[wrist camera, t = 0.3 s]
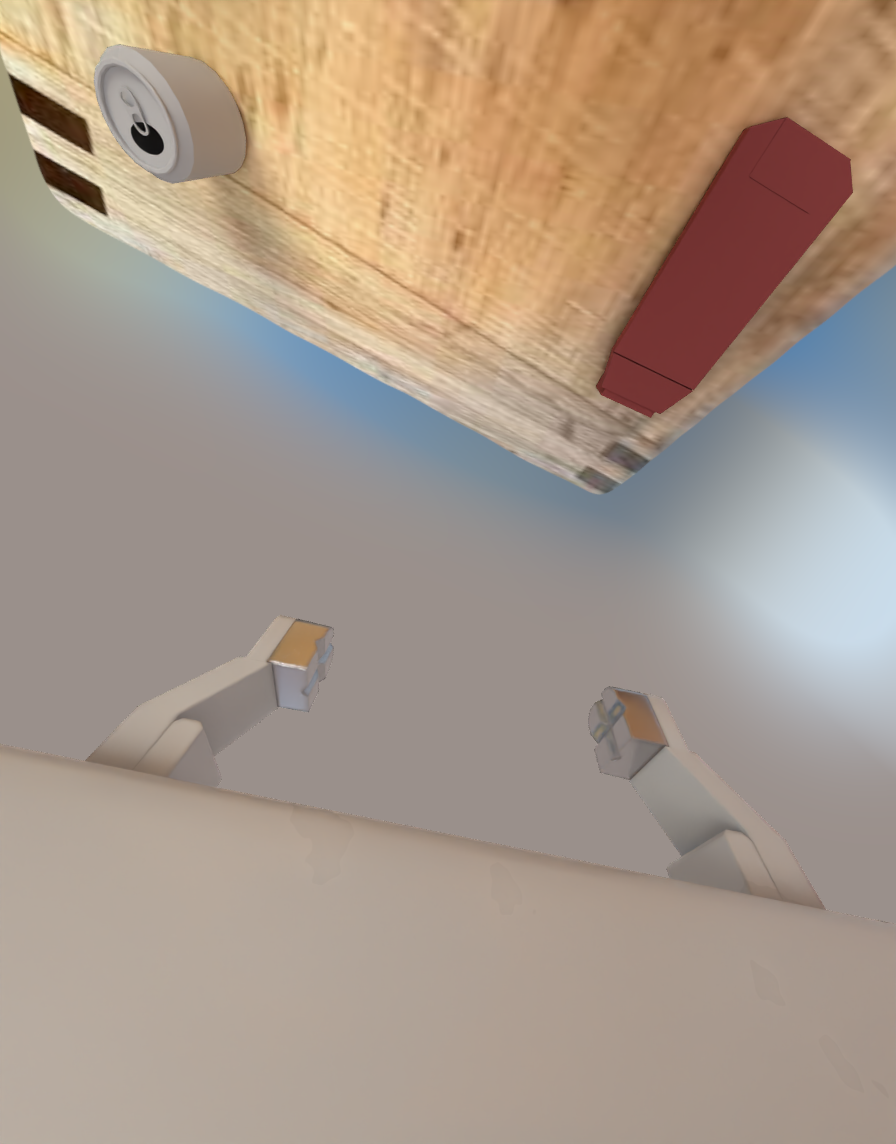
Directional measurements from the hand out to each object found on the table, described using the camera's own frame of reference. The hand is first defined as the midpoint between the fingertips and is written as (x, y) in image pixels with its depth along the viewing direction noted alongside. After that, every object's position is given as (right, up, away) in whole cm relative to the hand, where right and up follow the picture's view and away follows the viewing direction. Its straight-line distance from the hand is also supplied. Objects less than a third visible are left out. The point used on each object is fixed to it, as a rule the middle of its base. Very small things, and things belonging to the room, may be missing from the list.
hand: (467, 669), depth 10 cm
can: (-25, +51, +27) cm, 63 cm away
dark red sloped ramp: (+29, +36, +32) cm, 56 cm away
